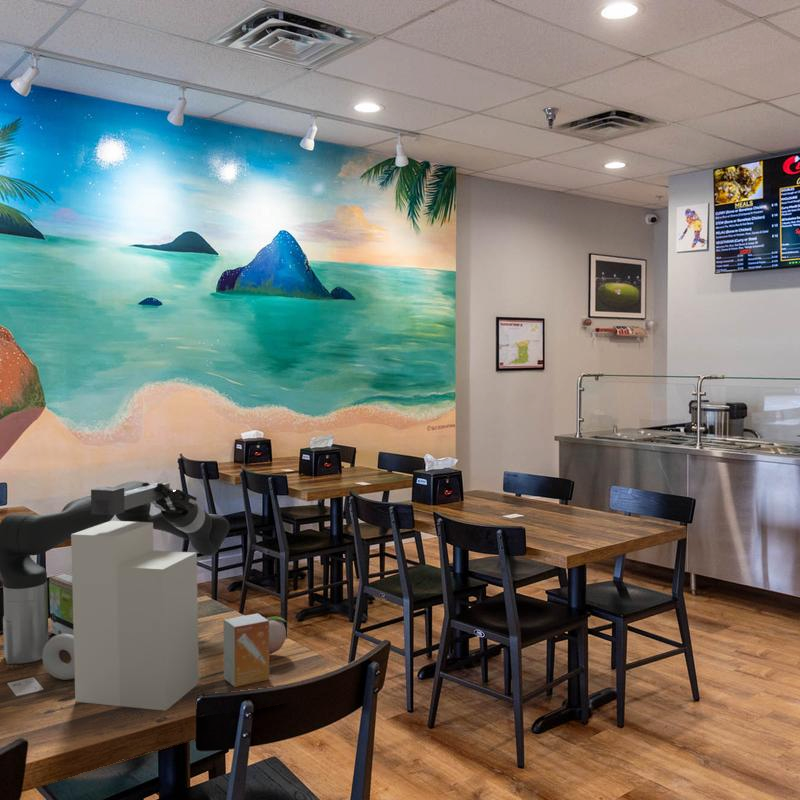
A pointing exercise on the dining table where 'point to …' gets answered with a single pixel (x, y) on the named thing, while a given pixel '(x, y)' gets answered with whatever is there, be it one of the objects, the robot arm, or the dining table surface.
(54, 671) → the donut
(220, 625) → the dining table surface
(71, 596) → the tea box
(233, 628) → the small box
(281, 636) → the decorative fruit
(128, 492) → the metal bar
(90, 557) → the two tier stand
